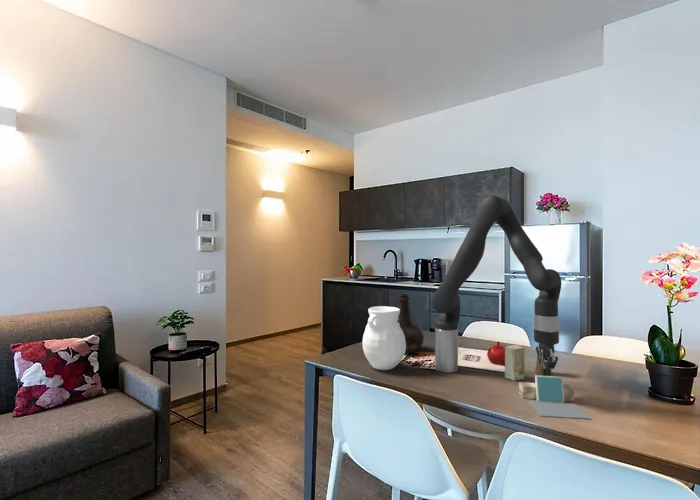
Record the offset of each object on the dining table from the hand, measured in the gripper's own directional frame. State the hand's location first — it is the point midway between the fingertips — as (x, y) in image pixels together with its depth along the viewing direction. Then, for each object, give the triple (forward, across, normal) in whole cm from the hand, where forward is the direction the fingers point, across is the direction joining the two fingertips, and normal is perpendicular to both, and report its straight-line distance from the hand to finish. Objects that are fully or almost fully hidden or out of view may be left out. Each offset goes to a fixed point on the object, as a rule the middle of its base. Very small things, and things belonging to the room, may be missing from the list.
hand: (546, 379), depth 121 cm
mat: (+6, +10, 0) cm, 12 cm away
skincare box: (+6, -17, -5) cm, 19 cm away
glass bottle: (+6, -49, -47) cm, 68 cm away
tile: (+6, +3, 0) cm, 7 cm away
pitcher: (+6, -24, -56) cm, 61 cm away
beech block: (+6, 0, 0) cm, 6 cm away
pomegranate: (+6, -36, -6) cm, 37 cm away
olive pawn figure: (+6, -24, +8) cm, 26 cm away
